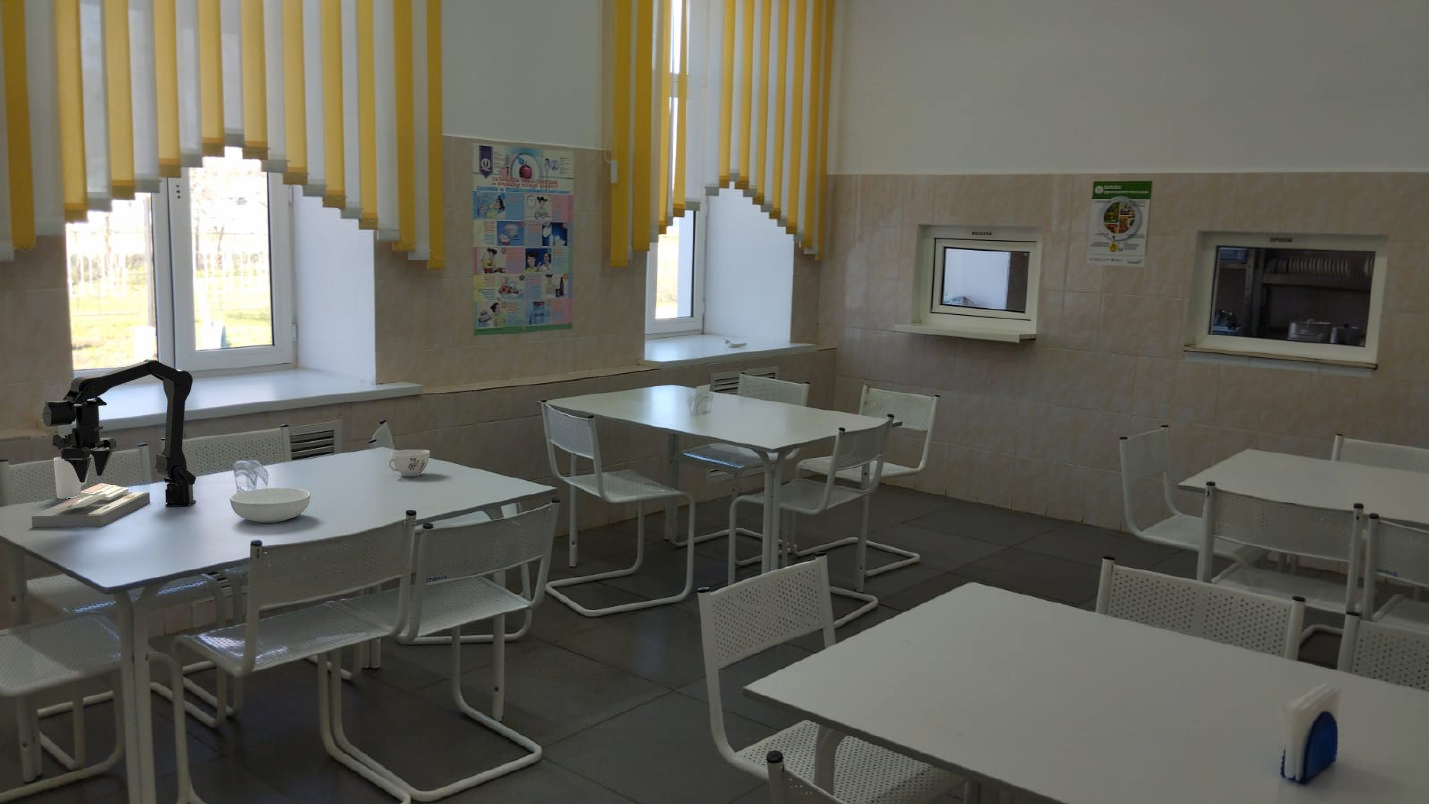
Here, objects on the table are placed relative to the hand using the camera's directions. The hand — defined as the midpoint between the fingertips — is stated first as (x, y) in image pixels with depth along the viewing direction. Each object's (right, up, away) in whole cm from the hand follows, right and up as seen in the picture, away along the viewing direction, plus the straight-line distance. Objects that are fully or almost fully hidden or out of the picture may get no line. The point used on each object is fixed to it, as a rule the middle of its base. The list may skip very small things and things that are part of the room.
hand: (91, 479), depth 309 cm
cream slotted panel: (-4, -5, +13) cm, 15 cm away
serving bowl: (+48, -12, +4) cm, 50 cm away
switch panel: (-3, -10, +7) cm, 13 cm away
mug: (-22, -7, +30) cm, 38 cm away
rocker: (-3, -6, 0) cm, 7 cm away
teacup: (+69, -4, +67) cm, 96 cm away
